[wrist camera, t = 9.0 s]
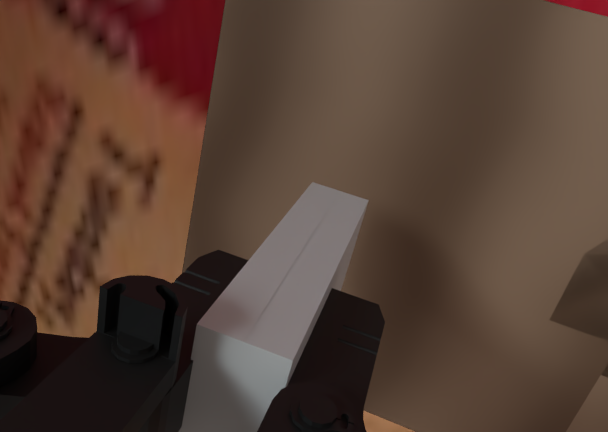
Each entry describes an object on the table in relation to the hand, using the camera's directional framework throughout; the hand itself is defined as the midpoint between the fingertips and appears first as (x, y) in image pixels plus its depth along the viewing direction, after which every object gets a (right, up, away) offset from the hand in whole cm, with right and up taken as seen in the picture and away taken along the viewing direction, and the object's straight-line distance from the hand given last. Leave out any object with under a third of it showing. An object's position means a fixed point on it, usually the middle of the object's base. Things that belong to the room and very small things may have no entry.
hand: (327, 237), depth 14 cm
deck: (+7, 0, +4) cm, 8 cm away
